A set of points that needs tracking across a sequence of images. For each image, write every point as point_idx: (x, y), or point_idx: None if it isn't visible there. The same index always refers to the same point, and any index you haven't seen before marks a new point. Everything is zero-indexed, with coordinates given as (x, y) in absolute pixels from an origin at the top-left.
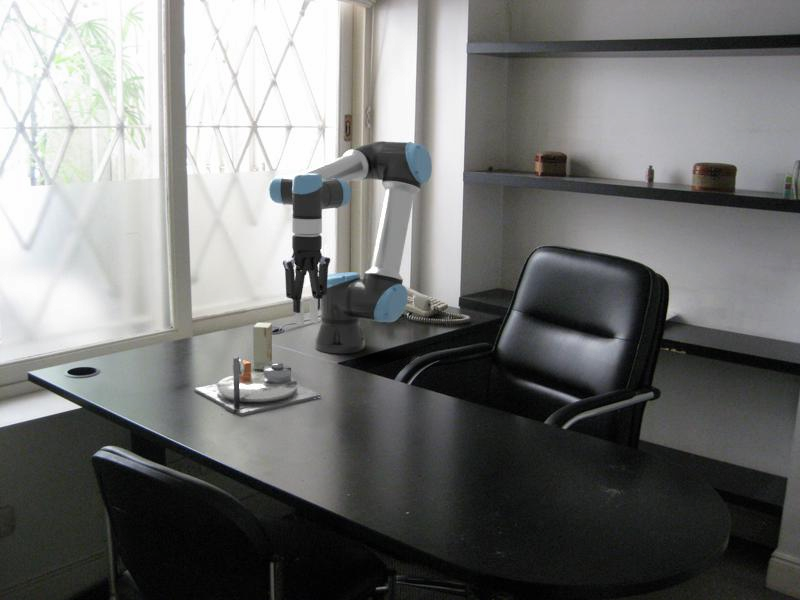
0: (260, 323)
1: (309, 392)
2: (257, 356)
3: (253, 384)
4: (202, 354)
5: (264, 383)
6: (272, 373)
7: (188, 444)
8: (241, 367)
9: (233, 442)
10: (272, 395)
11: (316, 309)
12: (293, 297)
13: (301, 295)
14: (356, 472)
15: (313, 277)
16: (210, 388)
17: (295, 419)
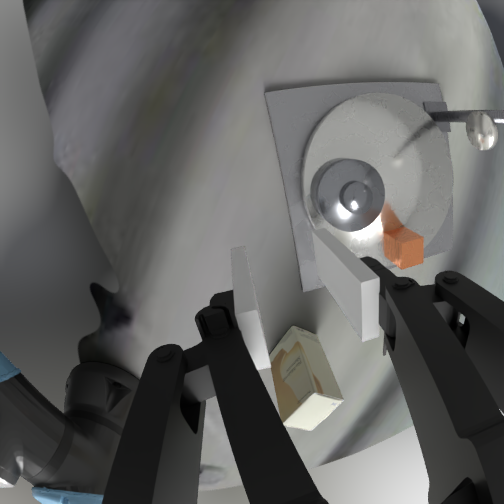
0: (310, 424)
1: (284, 117)
2: (318, 349)
3: (398, 181)
4: (346, 416)
5: None
6: (375, 170)
7: (493, 45)
8: (484, 112)
9: (455, 10)
10: (389, 94)
11: (243, 275)
12: (450, 274)
13: (395, 301)
14: None
15: (302, 469)
16: (437, 236)
17: (360, 15)
